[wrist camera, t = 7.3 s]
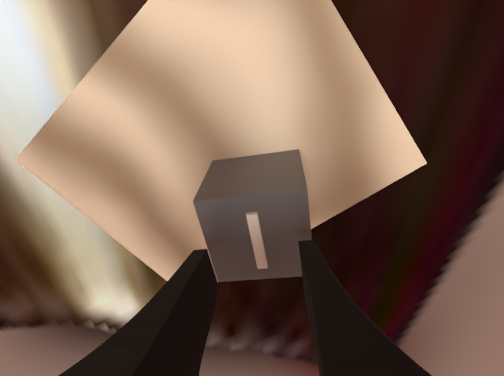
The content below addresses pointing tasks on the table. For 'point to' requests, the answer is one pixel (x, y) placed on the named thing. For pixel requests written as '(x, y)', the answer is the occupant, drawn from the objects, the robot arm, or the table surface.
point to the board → (218, 118)
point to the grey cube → (255, 215)
